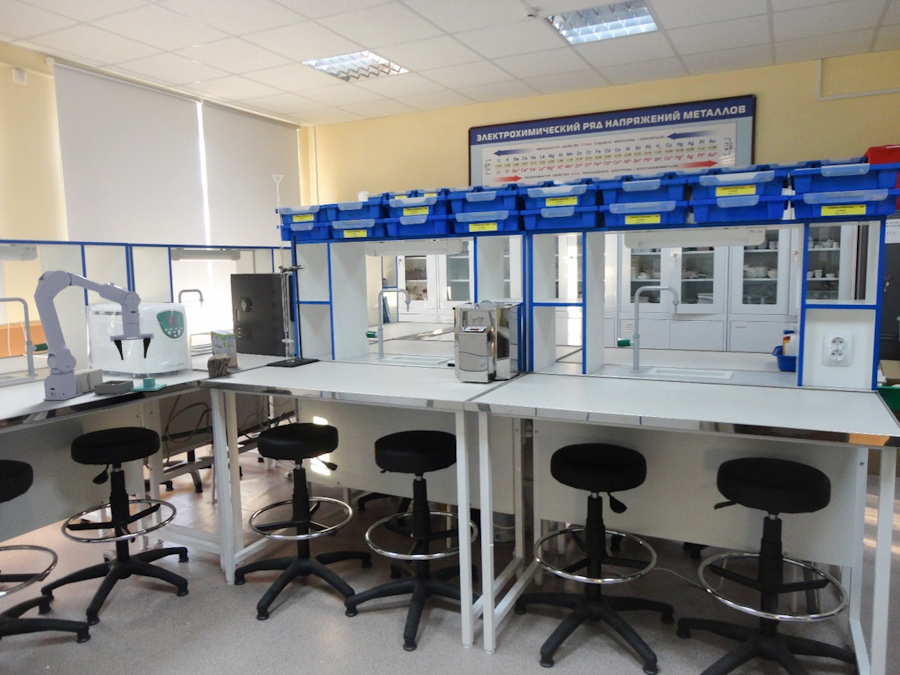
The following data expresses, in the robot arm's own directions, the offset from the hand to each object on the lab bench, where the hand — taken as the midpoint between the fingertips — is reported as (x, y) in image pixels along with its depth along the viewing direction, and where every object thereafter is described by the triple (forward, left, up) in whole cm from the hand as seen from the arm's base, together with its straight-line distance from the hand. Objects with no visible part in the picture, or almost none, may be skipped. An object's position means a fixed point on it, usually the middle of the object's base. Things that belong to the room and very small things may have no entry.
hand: (133, 359), depth 239 cm
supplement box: (-3, +14, -7) cm, 16 cm away
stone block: (+27, -21, -11) cm, 36 cm away
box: (-12, +1, -10) cm, 16 cm away
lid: (-6, -9, -10) cm, 15 cm away
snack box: (+52, -11, -11) cm, 54 cm away
